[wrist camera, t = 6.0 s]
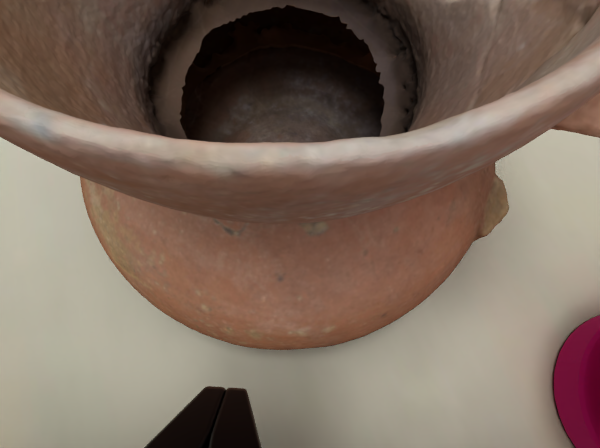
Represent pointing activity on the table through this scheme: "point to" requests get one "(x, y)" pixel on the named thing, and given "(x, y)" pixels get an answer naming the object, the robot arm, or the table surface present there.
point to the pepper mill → (580, 385)
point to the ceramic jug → (292, 143)
